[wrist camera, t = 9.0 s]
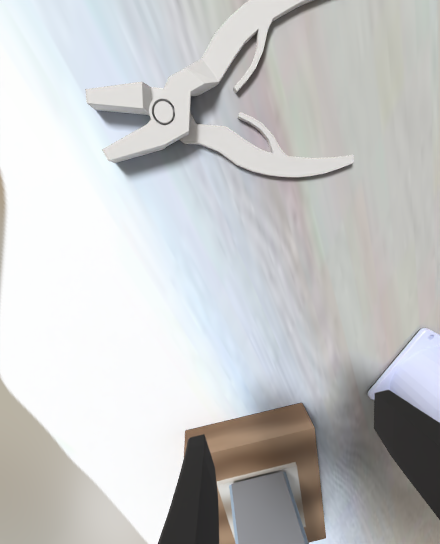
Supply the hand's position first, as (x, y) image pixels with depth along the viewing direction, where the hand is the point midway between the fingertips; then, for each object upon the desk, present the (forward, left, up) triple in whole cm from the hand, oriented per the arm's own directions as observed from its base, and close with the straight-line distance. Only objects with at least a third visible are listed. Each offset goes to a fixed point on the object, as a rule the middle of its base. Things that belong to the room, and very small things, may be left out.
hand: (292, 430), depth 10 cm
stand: (-10, +15, -9) cm, 20 cm away
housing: (-10, +15, -7) cm, 19 cm away
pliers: (+8, -12, -10) cm, 17 cm away
